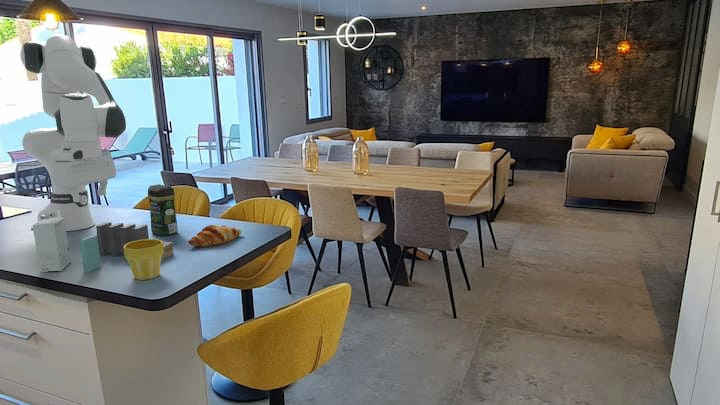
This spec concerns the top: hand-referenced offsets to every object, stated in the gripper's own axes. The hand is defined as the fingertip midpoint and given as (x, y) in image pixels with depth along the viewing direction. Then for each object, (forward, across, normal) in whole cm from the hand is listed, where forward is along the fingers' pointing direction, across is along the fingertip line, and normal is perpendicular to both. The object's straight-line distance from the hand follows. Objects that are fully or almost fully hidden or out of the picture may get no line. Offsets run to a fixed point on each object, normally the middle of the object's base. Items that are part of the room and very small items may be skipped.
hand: (90, 198), depth 137 cm
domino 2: (+21, -12, -8) cm, 26 cm away
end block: (+22, -12, +12) cm, 28 cm away
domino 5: (+22, -12, +6) cm, 26 cm away
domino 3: (+21, -12, -3) cm, 25 cm away
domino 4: (+22, -12, +1) cm, 25 cm away
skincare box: (+21, +2, -13) cm, 25 cm away
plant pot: (+22, +3, +18) cm, 28 cm away
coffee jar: (+22, -38, -3) cm, 43 cm away
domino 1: (+22, +2, -1) cm, 22 cm away
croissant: (+22, -31, +22) cm, 44 cm away
